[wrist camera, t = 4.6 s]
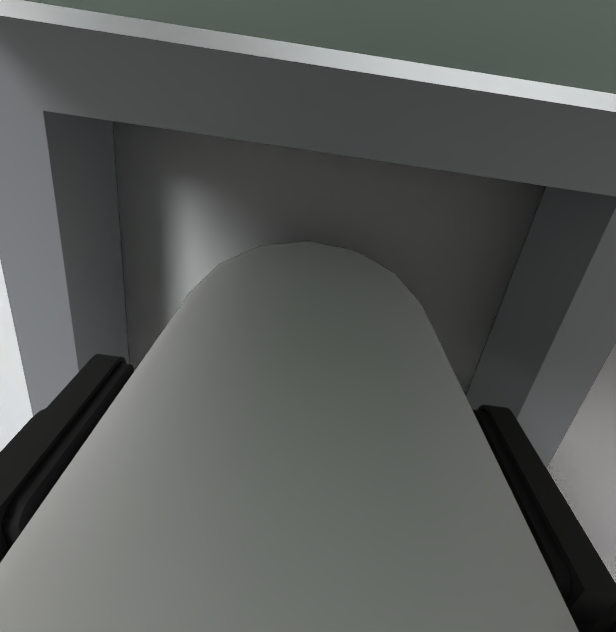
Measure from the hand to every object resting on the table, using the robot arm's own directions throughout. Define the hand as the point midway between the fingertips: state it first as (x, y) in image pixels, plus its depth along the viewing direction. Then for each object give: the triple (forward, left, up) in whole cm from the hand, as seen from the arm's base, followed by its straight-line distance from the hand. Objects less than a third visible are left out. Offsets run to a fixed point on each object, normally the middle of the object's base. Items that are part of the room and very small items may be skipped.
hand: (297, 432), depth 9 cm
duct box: (+1, 0, -5) cm, 5 cm away
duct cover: (-8, 0, +6) cm, 10 cm away
